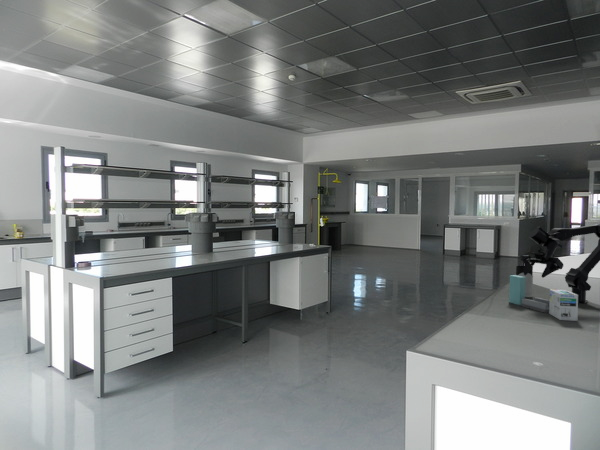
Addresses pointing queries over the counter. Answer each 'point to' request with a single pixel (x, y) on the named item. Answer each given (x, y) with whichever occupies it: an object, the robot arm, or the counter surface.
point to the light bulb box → (563, 305)
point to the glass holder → (526, 280)
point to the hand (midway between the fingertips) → (533, 275)
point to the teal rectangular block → (516, 289)
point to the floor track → (536, 304)
